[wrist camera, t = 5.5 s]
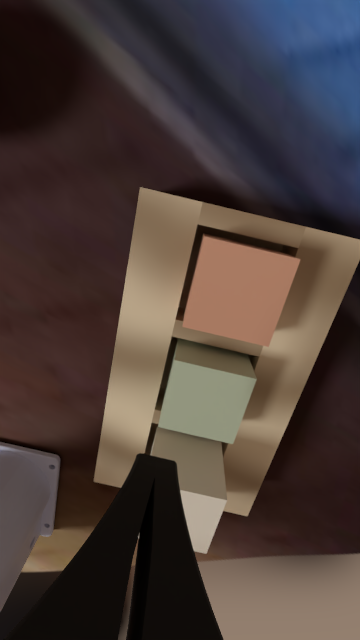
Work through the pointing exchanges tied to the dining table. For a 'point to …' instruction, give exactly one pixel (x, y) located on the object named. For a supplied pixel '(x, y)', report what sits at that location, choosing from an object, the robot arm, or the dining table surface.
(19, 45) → the dining table surface
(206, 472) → the cream key
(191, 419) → the sage key
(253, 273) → the salmon pink cube
